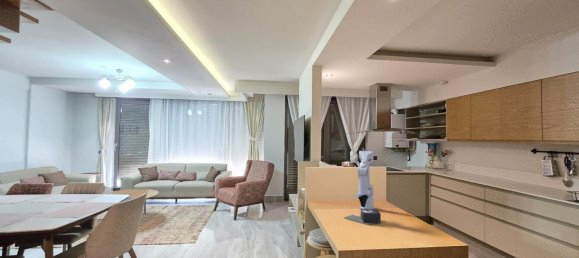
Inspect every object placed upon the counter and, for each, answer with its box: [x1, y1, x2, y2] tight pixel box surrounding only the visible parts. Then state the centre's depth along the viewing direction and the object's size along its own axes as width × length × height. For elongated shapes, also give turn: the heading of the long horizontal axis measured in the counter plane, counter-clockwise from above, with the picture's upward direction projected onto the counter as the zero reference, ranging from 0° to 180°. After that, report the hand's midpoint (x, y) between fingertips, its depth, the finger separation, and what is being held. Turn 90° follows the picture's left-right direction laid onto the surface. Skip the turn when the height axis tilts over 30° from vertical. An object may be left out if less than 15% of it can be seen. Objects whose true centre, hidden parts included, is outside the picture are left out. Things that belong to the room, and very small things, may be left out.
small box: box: [360, 208, 382, 224], centre depth 161 cm, size 11×6×10 cm
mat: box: [343, 214, 374, 226], centre depth 163 cm, size 10×18×1 cm, turn 43°
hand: (363, 206), depth 166 cm, fingers closed
